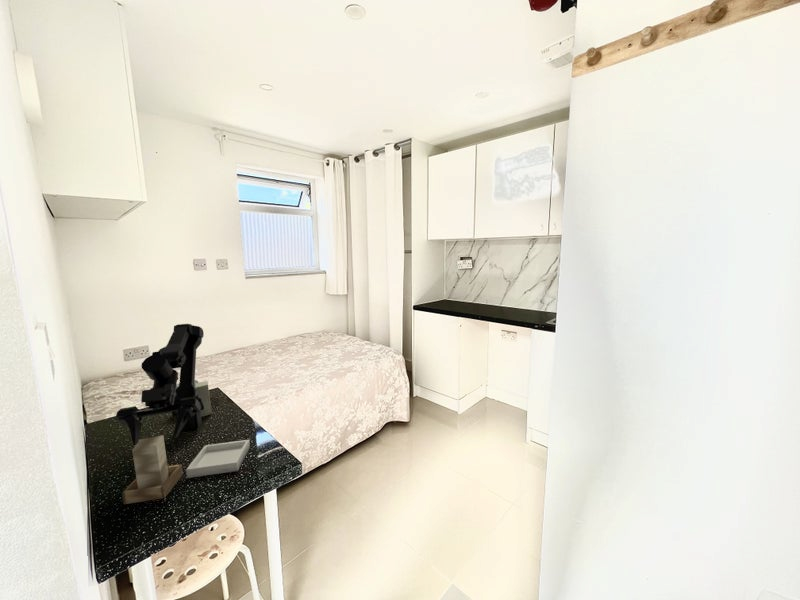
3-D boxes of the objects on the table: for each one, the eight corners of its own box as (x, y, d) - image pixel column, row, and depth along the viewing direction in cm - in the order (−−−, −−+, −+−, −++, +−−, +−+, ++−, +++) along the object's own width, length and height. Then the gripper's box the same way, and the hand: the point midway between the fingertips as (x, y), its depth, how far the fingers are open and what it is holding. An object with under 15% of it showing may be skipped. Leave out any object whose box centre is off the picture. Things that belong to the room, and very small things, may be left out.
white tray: (250, 446, 101) (249, 439, 100) (237, 470, 89) (236, 462, 89) (205, 452, 98) (204, 445, 98) (187, 478, 87) (186, 469, 86)
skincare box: (212, 414, 125) (208, 384, 124) (198, 417, 123) (195, 387, 121) (211, 408, 130) (207, 380, 129) (198, 411, 128) (194, 383, 127)
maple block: (169, 480, 86) (163, 435, 85) (162, 492, 82) (156, 444, 80) (147, 485, 85) (140, 439, 83) (139, 497, 80) (132, 449, 78)
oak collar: (183, 474, 88) (181, 464, 88) (164, 497, 79) (163, 486, 79) (146, 479, 87) (144, 469, 86) (123, 504, 78) (121, 493, 77)
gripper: (113, 381, 86) (97, 439, 77) (193, 370, 92) (186, 423, 83) (130, 398, 94) (117, 452, 85) (202, 387, 100) (197, 436, 91)
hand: (155, 441), depth 86 cm, fingers open, 9 cm apart
